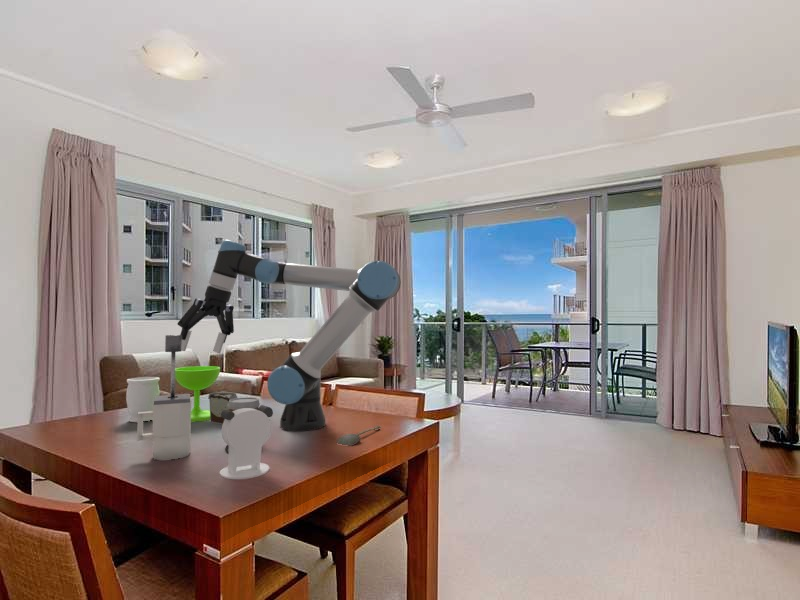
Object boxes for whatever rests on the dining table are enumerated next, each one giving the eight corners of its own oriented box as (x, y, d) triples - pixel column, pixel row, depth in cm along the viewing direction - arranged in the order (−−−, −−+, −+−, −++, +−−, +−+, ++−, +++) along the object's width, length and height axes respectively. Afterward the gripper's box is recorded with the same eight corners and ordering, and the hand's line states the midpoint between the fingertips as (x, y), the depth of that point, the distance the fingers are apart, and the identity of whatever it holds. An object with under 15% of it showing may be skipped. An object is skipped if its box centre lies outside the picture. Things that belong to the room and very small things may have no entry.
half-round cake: (245, 422, 164) (245, 393, 164) (230, 425, 159) (230, 396, 159) (222, 418, 170) (223, 390, 171) (207, 421, 165) (208, 393, 166)
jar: (165, 417, 172) (166, 376, 172) (147, 423, 161) (148, 380, 162) (138, 416, 173) (139, 376, 173) (118, 423, 162) (119, 380, 163)
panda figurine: (259, 460, 121) (260, 402, 121) (280, 471, 112) (280, 408, 113) (212, 470, 113) (213, 408, 113) (230, 482, 104) (231, 415, 105)
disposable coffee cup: (266, 437, 144) (266, 398, 144) (246, 445, 135) (247, 403, 135) (240, 434, 147) (241, 396, 147) (219, 442, 138) (220, 401, 138)
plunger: (180, 397, 128) (181, 334, 129) (180, 399, 125) (181, 335, 125) (164, 398, 126) (165, 335, 127) (164, 400, 123) (165, 335, 123)
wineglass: (164, 417, 171) (165, 368, 172) (206, 411, 183) (207, 365, 184) (185, 424, 161) (186, 372, 161) (227, 416, 173) (228, 368, 174)
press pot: (189, 448, 131) (190, 393, 132) (190, 457, 123) (191, 398, 123) (138, 454, 126) (139, 396, 126) (135, 464, 117) (136, 402, 118)
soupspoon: (331, 448, 136) (350, 452, 133) (332, 436, 136) (351, 440, 133) (370, 429, 155) (387, 432, 152) (370, 419, 155) (388, 422, 152)
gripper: (241, 291, 162) (222, 349, 161) (179, 277, 140) (157, 344, 139) (256, 297, 158) (236, 356, 158) (195, 283, 136) (172, 352, 136)
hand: (199, 351), depth 149 cm, fingers open, 13 cm apart
